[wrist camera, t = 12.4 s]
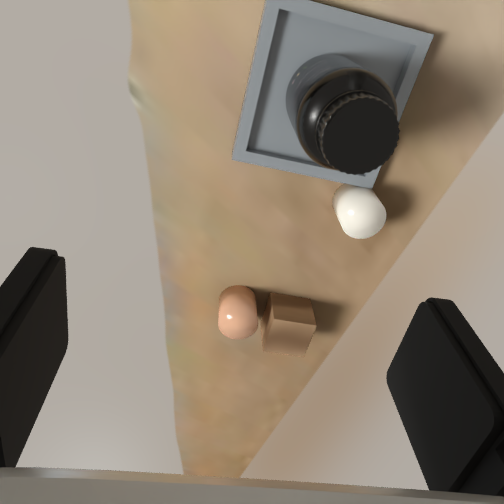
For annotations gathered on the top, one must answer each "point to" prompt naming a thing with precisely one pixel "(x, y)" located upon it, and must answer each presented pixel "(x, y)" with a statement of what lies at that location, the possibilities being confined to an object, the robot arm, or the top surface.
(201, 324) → the top surface
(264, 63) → the tray
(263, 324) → the walnut block
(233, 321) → the peach rounded dome
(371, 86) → the supplement bottle
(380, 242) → the top surface
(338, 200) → the white egg
